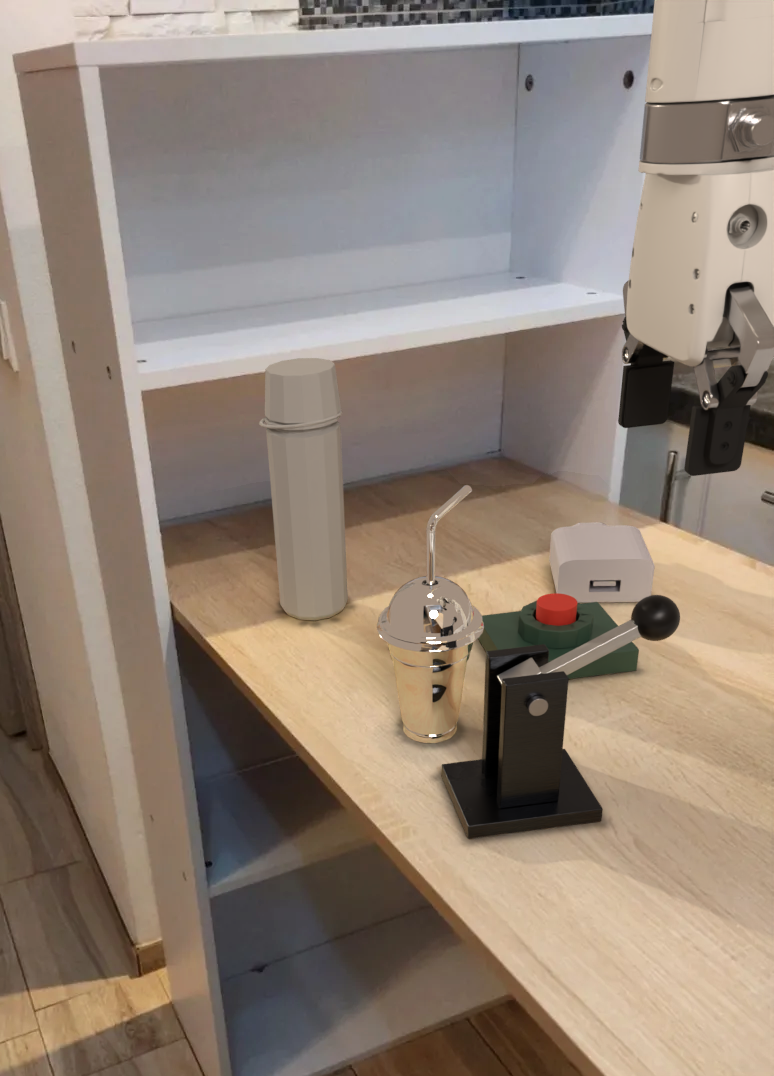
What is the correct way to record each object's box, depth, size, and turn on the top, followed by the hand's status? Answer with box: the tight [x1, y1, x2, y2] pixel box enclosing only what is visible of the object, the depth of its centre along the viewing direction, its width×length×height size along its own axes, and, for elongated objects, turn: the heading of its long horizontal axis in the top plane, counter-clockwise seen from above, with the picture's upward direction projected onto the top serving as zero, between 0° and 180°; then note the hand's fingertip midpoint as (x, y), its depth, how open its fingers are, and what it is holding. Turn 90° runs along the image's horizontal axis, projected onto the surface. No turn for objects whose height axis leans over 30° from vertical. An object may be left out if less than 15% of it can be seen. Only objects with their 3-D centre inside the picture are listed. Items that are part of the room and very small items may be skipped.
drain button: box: [536, 592, 577, 626], centre depth 94 cm, size 4×4×2 cm
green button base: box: [477, 600, 640, 680], centre depth 96 cm, size 12×10×4 cm
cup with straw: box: [376, 484, 484, 744], centre depth 82 cm, size 8×9×20 cm
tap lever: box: [497, 594, 681, 685], centre depth 72 cm, size 13×3×3 cm, turn 96°
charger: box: [548, 521, 656, 604], centre depth 110 cm, size 5×9×15 cm
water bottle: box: [258, 357, 349, 621], centre depth 103 cm, size 9×8×25 cm
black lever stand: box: [440, 644, 604, 840], centre depth 75 cm, size 10×8×12 cm
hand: (674, 446), depth 65 cm, fingers open, 9 cm apart
